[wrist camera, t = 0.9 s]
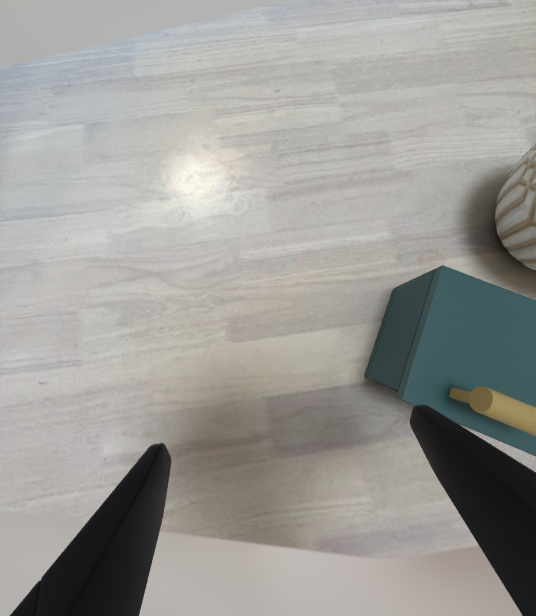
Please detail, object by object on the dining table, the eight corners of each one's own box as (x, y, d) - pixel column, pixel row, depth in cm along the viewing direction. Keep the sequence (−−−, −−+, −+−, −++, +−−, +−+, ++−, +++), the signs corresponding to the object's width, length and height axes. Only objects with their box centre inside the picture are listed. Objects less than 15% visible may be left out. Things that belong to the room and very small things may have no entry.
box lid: (538, 457, 17) (628, 493, 12) (395, 397, 17) (436, 413, 13) (565, 318, 18) (653, 309, 14) (435, 268, 19) (482, 246, 15)
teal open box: (465, 419, 23) (539, 445, 17) (364, 376, 24) (398, 386, 17) (489, 325, 25) (564, 318, 18) (393, 288, 25) (435, 268, 19)
